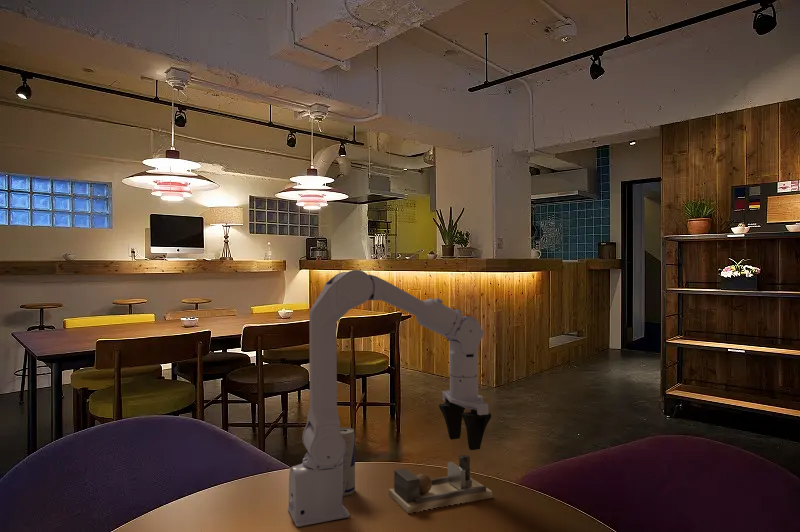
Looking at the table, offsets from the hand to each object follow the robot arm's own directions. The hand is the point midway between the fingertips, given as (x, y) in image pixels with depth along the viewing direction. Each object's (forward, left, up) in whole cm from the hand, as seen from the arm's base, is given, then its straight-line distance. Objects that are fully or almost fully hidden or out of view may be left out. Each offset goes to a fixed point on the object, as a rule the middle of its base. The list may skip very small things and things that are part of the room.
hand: (464, 443), depth 99 cm
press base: (-6, 0, -9) cm, 11 cm away
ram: (-1, 0, -8) cm, 8 cm away
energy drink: (-23, +10, -10) cm, 26 cm away
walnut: (-9, 0, -8) cm, 12 cm away
